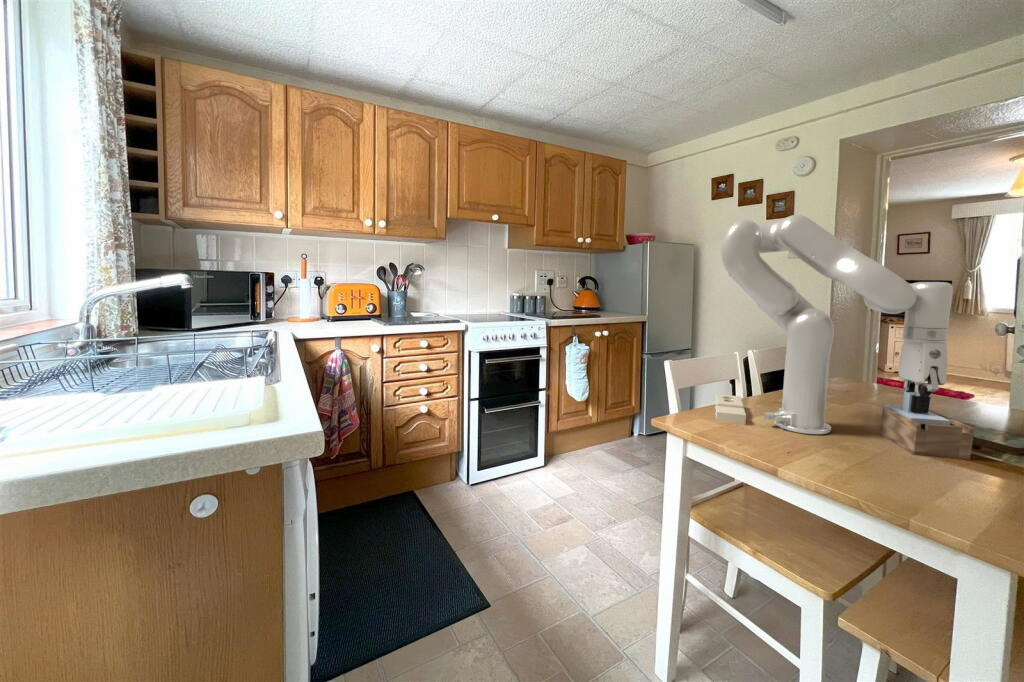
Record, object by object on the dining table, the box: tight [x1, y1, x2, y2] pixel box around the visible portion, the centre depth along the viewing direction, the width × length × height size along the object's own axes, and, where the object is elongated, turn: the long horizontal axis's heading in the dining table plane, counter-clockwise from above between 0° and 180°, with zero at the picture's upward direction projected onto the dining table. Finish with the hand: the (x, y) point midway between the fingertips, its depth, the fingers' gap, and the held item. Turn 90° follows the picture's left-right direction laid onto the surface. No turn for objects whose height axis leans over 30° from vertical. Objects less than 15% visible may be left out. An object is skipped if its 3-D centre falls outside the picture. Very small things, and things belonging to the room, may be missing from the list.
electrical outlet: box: [714, 393, 747, 425], centre depth 126 cm, size 7×4×18 cm
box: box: [879, 406, 975, 460], centre depth 100 cm, size 14×10×7 cm
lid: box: [883, 391, 951, 425], centre depth 103 cm, size 12×7×6 cm, turn 163°
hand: (915, 409), depth 103 cm, fingers closed on lid, 2 cm apart
